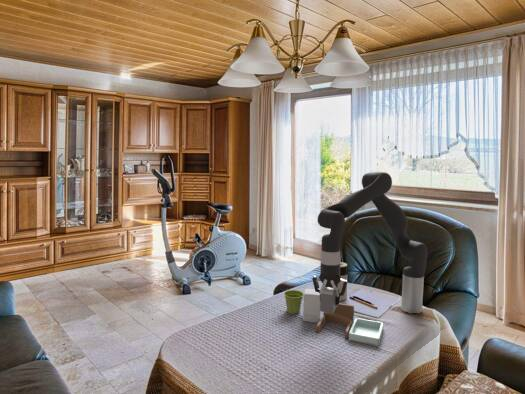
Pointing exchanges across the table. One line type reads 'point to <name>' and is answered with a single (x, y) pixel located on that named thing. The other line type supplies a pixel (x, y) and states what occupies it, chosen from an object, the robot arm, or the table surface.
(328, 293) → the grey rectangular block
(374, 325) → the tray
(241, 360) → the table surface
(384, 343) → the table surface
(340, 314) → the dock
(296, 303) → the plant pot
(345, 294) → the travel mug
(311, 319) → the supplement box
